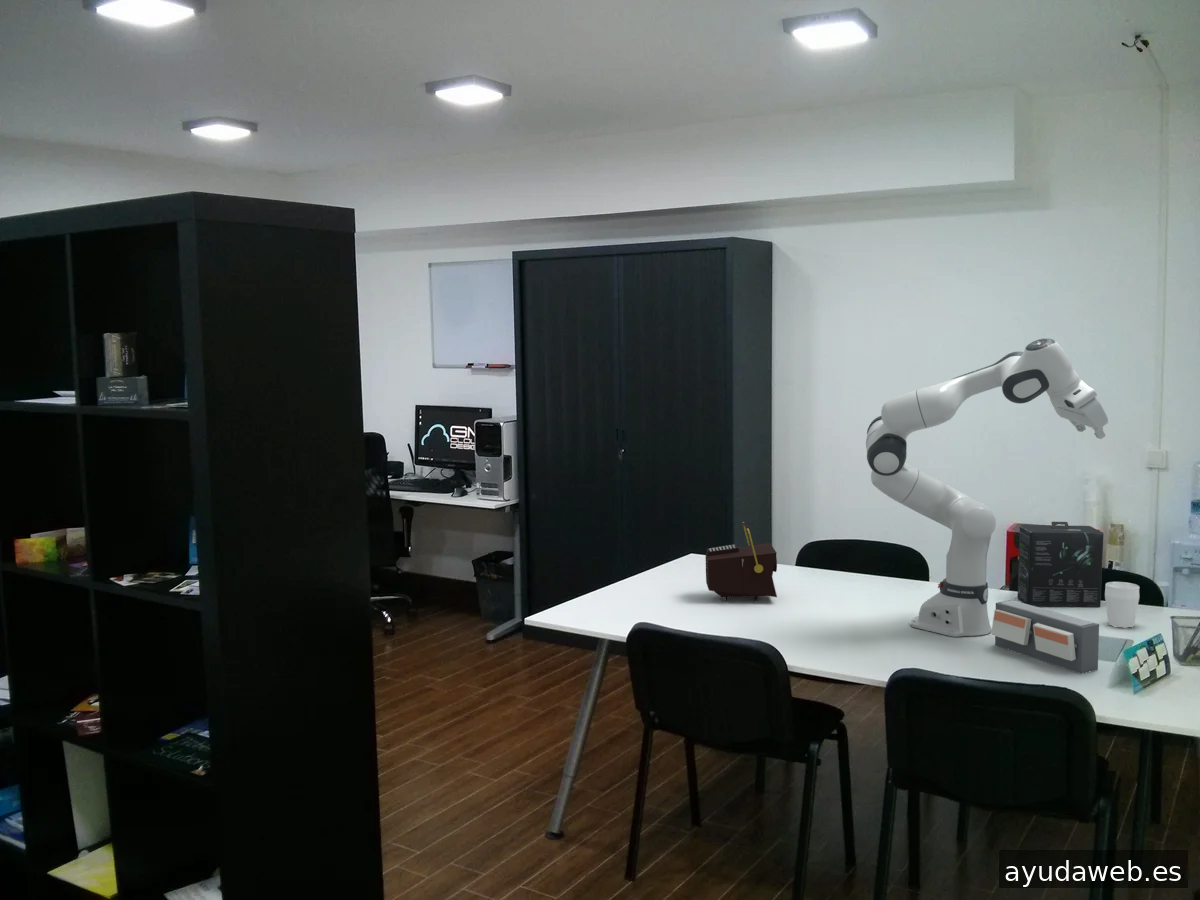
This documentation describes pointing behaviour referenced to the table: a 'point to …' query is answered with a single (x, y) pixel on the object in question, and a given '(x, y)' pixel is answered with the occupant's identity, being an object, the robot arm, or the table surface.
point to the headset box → (1060, 565)
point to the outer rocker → (1054, 641)
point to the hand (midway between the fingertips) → (1091, 433)
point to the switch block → (1081, 629)
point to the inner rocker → (1011, 627)
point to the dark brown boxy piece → (741, 570)
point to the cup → (1121, 603)
